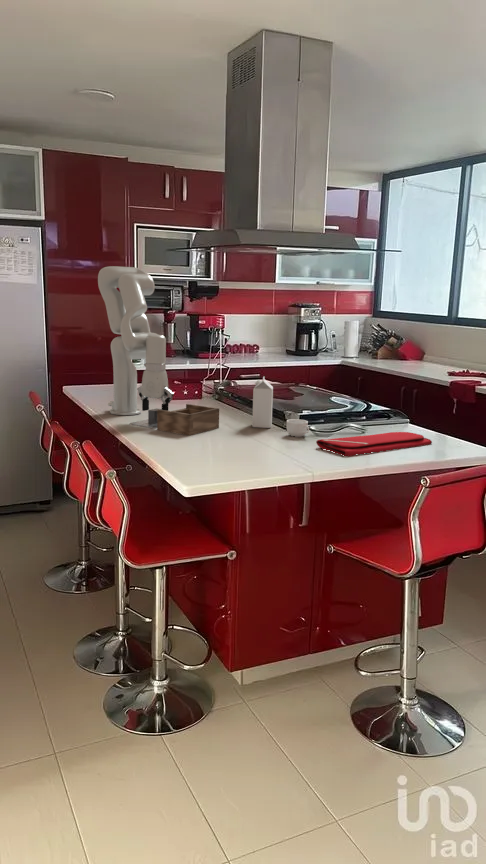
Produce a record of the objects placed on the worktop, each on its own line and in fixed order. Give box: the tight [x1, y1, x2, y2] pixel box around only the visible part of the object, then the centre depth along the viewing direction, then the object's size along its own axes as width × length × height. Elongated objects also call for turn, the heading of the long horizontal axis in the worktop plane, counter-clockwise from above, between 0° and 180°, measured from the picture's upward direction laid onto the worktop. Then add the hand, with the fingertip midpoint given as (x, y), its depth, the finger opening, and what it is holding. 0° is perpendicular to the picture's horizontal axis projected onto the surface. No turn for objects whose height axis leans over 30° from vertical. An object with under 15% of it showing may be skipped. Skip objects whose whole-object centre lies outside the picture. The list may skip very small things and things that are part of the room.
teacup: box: [286, 418, 310, 438], centre depth 250 cm, size 10×8×5 cm
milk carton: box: [251, 375, 274, 429], centre depth 265 cm, size 7×7×19 cm
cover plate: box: [129, 408, 162, 429], centre depth 266 cm, size 13×15×6 cm
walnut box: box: [156, 403, 220, 436], centre depth 257 cm, size 15×18×8 cm
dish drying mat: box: [315, 431, 433, 457], centre depth 238 cm, size 16×41×4 cm, turn 125°
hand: (155, 412), depth 266 cm, fingers open, 9 cm apart
